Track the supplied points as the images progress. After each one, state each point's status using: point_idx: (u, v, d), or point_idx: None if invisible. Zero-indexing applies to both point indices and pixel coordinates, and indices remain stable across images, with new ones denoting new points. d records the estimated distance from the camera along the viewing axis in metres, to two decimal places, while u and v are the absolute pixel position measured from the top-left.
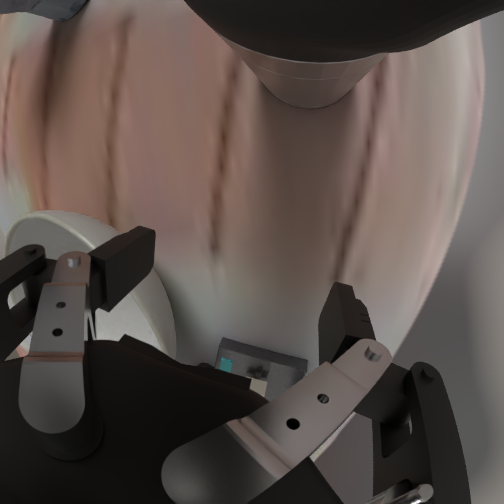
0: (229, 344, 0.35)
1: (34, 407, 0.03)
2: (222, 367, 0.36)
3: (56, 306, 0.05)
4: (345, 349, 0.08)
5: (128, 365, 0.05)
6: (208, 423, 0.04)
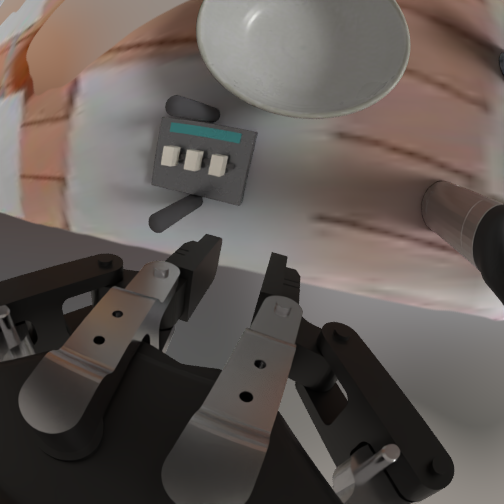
0: (254, 139, 0.40)
1: (34, 407, 0.03)
2: (230, 134, 0.39)
3: (112, 314, 0.05)
4: None
5: (128, 365, 0.05)
6: None
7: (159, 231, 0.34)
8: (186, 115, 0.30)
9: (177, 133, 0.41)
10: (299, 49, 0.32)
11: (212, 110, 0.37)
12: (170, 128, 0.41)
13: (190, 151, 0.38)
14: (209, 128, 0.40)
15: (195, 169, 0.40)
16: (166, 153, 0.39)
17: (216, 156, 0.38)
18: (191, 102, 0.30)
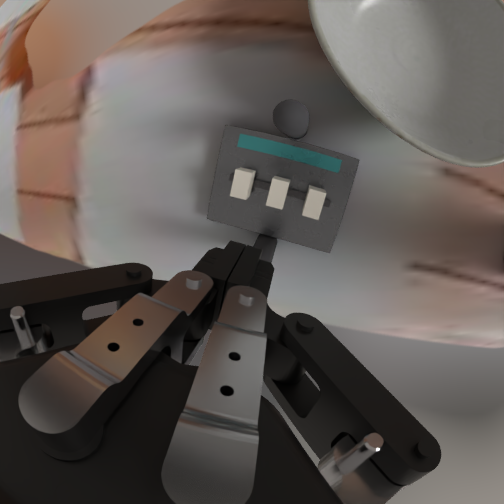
0: None
1: (34, 407, 0.03)
2: (327, 159, 0.29)
3: (133, 321, 0.05)
4: None
5: None
6: None
7: None
8: (299, 133, 0.20)
9: (249, 150, 0.31)
10: (412, 60, 0.22)
11: None
12: (238, 142, 0.30)
13: (277, 181, 0.28)
14: (297, 148, 0.29)
15: (282, 206, 0.29)
16: (239, 180, 0.29)
17: (316, 191, 0.28)
18: None
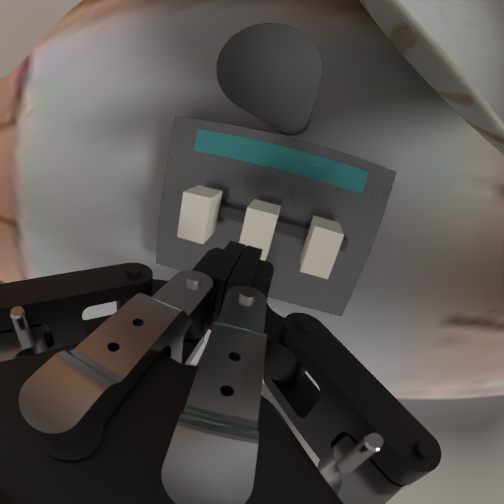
0: None
1: (34, 407, 0.03)
2: (344, 169, 0.17)
3: (133, 322, 0.05)
4: None
5: None
6: None
7: None
8: (295, 117, 0.08)
9: (212, 156, 0.18)
10: (466, 25, 0.10)
11: None
12: (195, 143, 0.18)
13: (256, 212, 0.16)
14: (293, 150, 0.17)
15: (266, 256, 0.17)
16: (190, 211, 0.16)
17: (326, 231, 0.15)
18: None
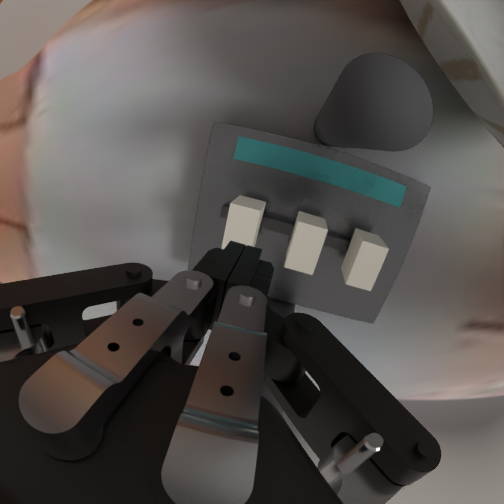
0: None
1: (34, 407, 0.03)
2: (384, 183, 0.17)
3: (133, 322, 0.05)
4: None
5: None
6: None
7: None
8: None
9: (254, 165, 0.18)
10: (494, 44, 0.09)
11: None
12: (235, 151, 0.18)
13: (307, 226, 0.16)
14: (337, 163, 0.17)
15: None
16: (237, 223, 0.16)
17: (372, 246, 0.15)
18: None
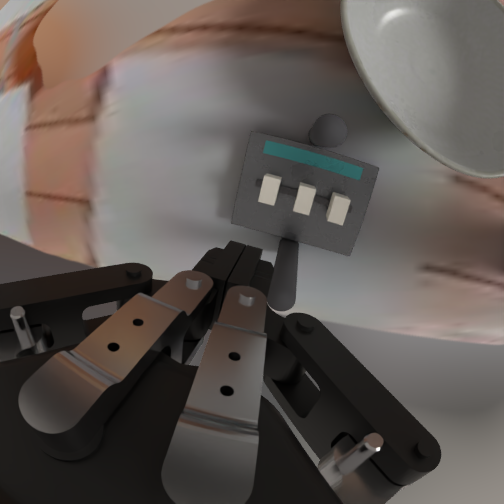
0: None
1: (34, 407, 0.03)
2: (349, 166, 0.30)
3: (133, 321, 0.05)
4: None
5: None
6: None
7: (282, 309, 0.25)
8: None
9: (274, 156, 0.31)
10: (429, 73, 0.23)
11: None
12: (264, 148, 0.31)
13: (305, 188, 0.29)
14: (321, 155, 0.30)
15: (309, 212, 0.30)
16: (267, 186, 0.30)
17: (341, 198, 0.29)
18: None
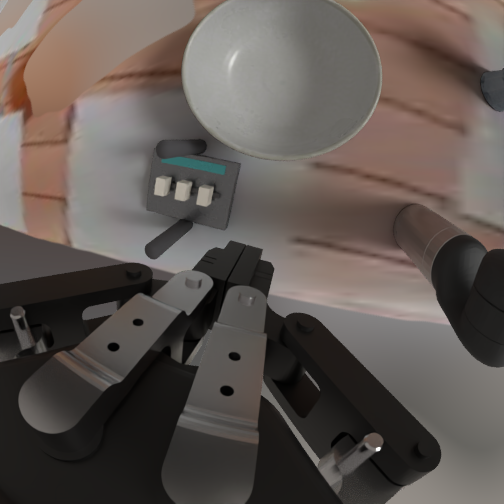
0: (238, 170, 0.46)
1: (34, 407, 0.03)
2: (215, 166, 0.45)
3: (133, 322, 0.05)
4: None
5: None
6: None
7: (154, 258, 0.40)
8: (174, 156, 0.36)
9: (168, 164, 0.46)
10: (279, 85, 0.38)
11: (199, 145, 0.42)
12: (162, 159, 0.46)
13: (180, 183, 0.44)
14: (197, 160, 0.45)
15: (185, 199, 0.45)
16: (158, 184, 0.44)
17: (203, 188, 0.43)
18: (178, 144, 0.35)
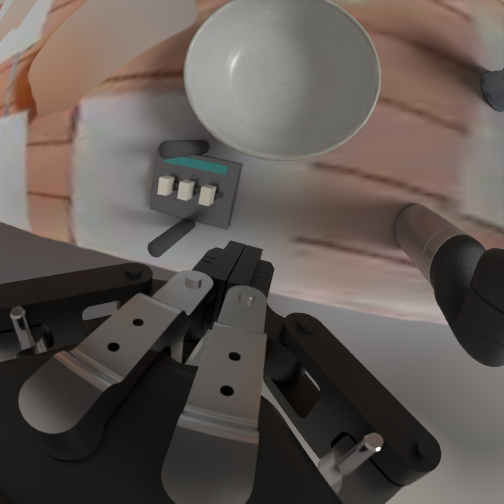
0: (240, 170, 0.47)
1: (34, 407, 0.03)
2: (218, 166, 0.46)
3: (133, 321, 0.05)
4: None
5: None
6: None
7: (157, 256, 0.41)
8: (177, 156, 0.36)
9: (171, 164, 0.47)
10: (280, 86, 0.38)
11: (201, 145, 0.43)
12: (165, 159, 0.47)
13: (182, 183, 0.44)
14: (199, 160, 0.46)
15: (187, 199, 0.46)
16: (161, 184, 0.45)
17: (205, 188, 0.44)
18: (181, 145, 0.36)
